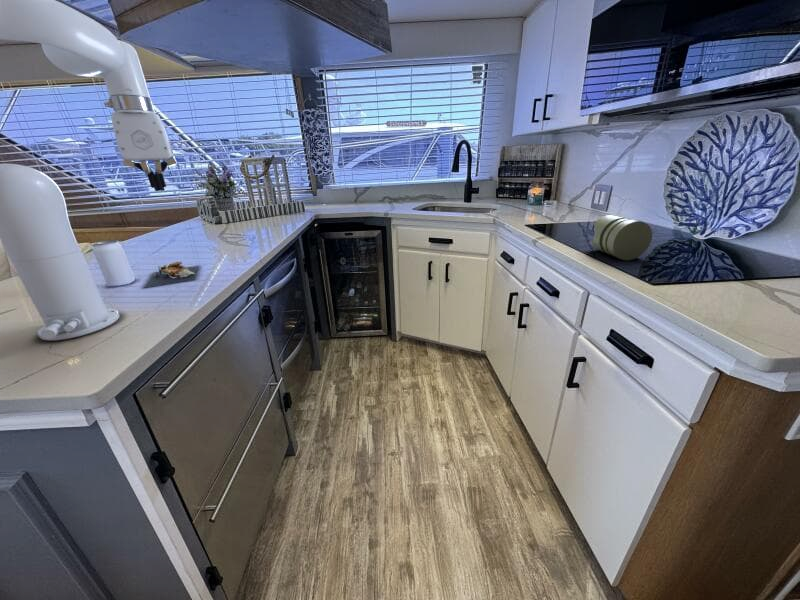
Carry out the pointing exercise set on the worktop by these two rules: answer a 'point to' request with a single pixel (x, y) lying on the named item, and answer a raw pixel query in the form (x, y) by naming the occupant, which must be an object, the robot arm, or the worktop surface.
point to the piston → (621, 237)
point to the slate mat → (166, 279)
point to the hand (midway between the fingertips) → (160, 190)
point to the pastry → (174, 270)
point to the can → (113, 263)
